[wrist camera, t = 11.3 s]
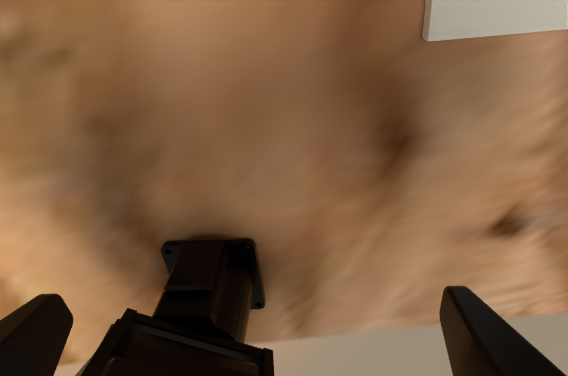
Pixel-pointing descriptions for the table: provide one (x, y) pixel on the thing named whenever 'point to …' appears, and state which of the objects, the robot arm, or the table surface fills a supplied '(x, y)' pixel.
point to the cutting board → (491, 18)
